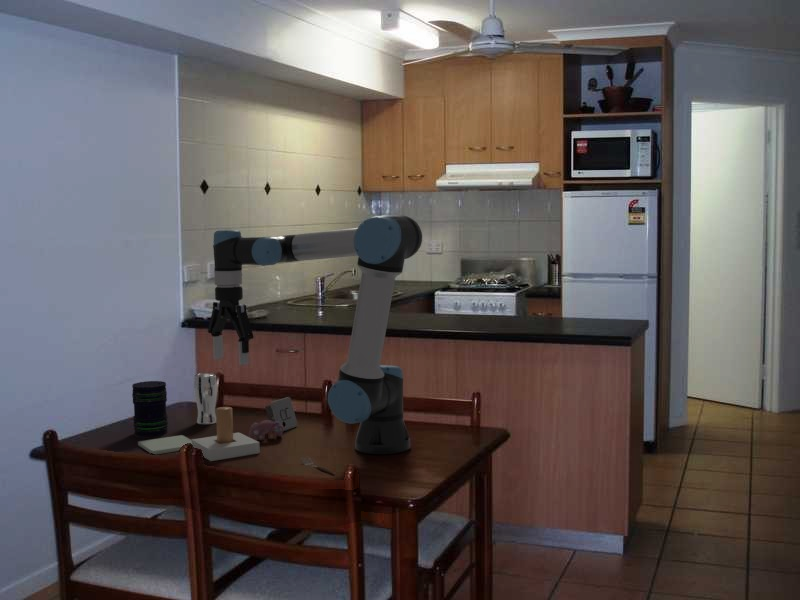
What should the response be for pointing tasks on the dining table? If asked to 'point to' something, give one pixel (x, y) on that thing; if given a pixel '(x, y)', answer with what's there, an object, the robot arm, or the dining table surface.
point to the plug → (224, 425)
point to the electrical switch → (282, 413)
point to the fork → (316, 466)
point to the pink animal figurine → (266, 429)
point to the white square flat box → (226, 447)
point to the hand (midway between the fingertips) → (231, 361)
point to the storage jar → (150, 409)
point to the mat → (164, 444)
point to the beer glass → (206, 397)
